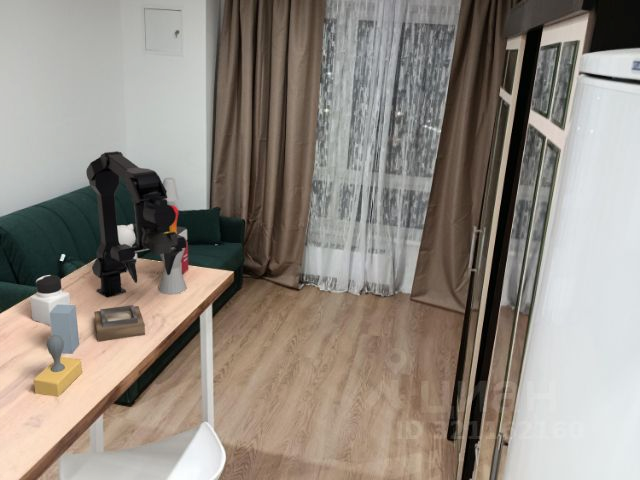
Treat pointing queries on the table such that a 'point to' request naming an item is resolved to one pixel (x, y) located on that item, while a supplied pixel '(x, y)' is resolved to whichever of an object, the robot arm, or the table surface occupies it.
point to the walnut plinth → (119, 323)
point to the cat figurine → (126, 236)
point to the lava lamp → (175, 279)
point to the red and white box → (184, 261)
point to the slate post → (65, 326)
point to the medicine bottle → (47, 298)
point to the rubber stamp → (57, 370)
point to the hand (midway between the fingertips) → (152, 278)
